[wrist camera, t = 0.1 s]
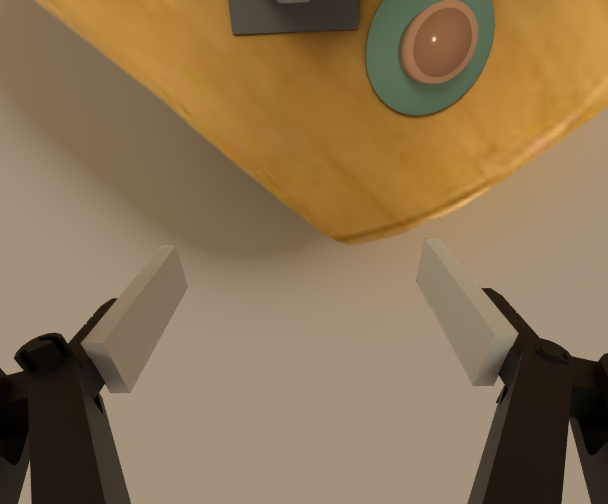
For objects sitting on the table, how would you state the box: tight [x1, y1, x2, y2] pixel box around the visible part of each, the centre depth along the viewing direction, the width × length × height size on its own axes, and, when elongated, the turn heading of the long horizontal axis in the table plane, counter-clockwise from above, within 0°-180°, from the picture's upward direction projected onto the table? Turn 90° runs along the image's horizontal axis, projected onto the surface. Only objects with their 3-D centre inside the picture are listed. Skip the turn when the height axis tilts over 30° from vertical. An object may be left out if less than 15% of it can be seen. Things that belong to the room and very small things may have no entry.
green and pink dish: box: [365, 0, 495, 115], centre depth 32 cm, size 14×14×5 cm
